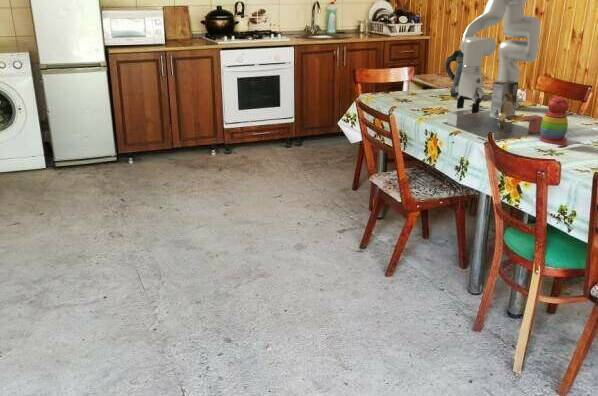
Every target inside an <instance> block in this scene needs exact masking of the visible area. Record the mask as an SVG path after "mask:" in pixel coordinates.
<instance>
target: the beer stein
mask: <svg viewBox="0 0 598 396" xmlns="http://www.w3.org/2000/svg"><path fill="white" fill-rule="evenodd" d="M463 56H464V53H462V51H461V49H459V50H454V52H453V53H452V55H450V56H449V57H447V58H446V59H445V62H444V69H445V71H446V73H447V76H448V77H449V78H450V79H451V80H452V81H453V82H452V85H451V88H450V91H449V93H450V97H451V96H452V97H451V98H453V97H454V98H453V99H457V96H456V91H455V88H456V87H458V86H459V81H460V77H461V73H462V67H463ZM451 62H457V63H456V69H455V73H453V71H452V69H451V67H450V65H451ZM482 92H483V93H484V91H483V89H482ZM463 99H464V100H472V98H468V97H464V98H463ZM475 99H476V98H475ZM476 100H477V99H476Z"/></svg>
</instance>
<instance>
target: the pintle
mask: <svg viewBox="0 0 598 396" xmlns="http://www.w3.org/2000/svg"><path fill="white" fill-rule="evenodd" d="M506 118H507V117H506V113H499V118H498V119H499V122H498V126H499V127H505V121H506Z"/></svg>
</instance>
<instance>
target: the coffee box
mask: <svg viewBox="0 0 598 396" xmlns="http://www.w3.org/2000/svg"><path fill="white" fill-rule="evenodd" d="M518 87H519V81H518V82H514V81H509V80H507V81H499V82H497V81H493V83H492V91H491V92H492V93H491V100H490V101H491V103H490V110H489V111H490V117H493V118H497V119H499V113H506V118H508V117H509V118H510V117H514V116H515V115H516V114H515V113H516V109H515V108H516V99H517V98H518V97H517V96H518Z"/></svg>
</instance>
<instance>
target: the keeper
mask: <svg viewBox="0 0 598 396" xmlns="http://www.w3.org/2000/svg"><path fill="white" fill-rule="evenodd" d="M515 120H516V121H521V122H526V121H529V122H528V127H527V128H528V131H530V132H533V133H537V132H541V123H542V121H543V116H541V115H537V114H534V115H526V116H519V117H516V118H515Z"/></svg>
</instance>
